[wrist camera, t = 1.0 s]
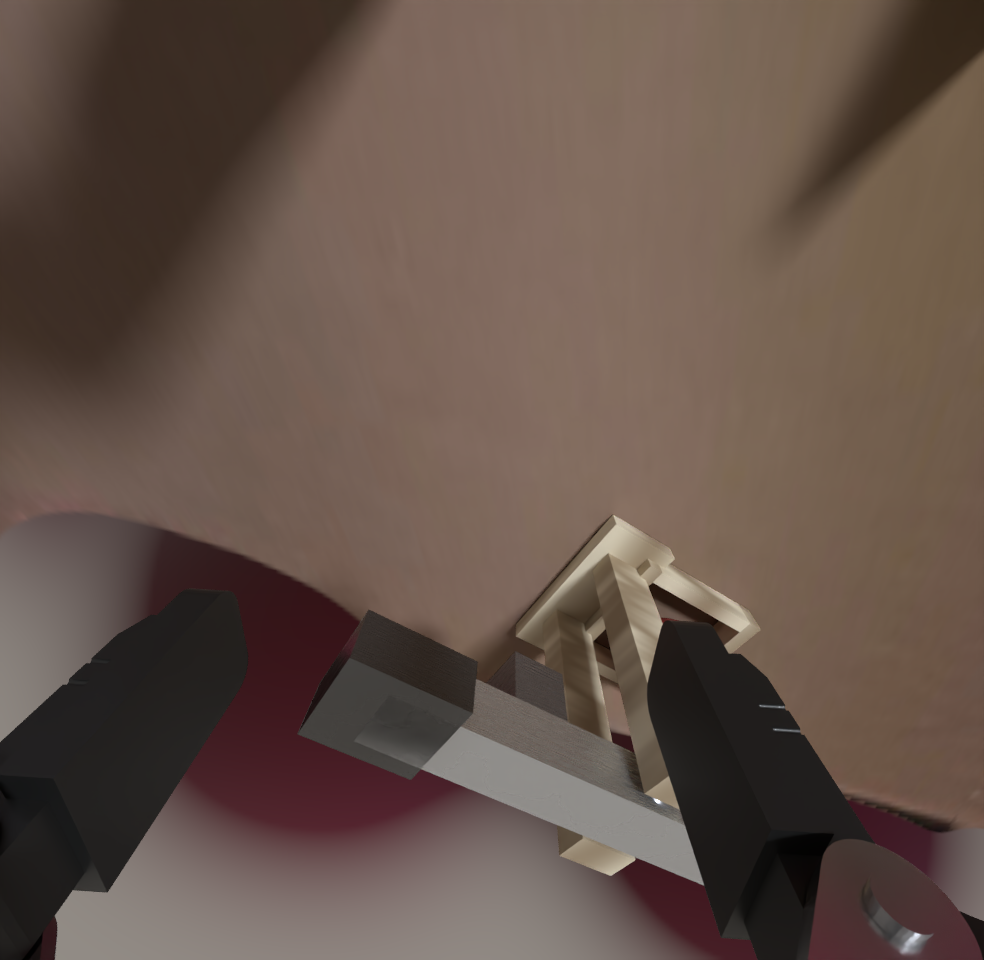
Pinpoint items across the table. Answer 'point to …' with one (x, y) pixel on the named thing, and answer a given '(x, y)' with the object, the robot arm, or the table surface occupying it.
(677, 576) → the press stand
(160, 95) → the table surface
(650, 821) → the lever
